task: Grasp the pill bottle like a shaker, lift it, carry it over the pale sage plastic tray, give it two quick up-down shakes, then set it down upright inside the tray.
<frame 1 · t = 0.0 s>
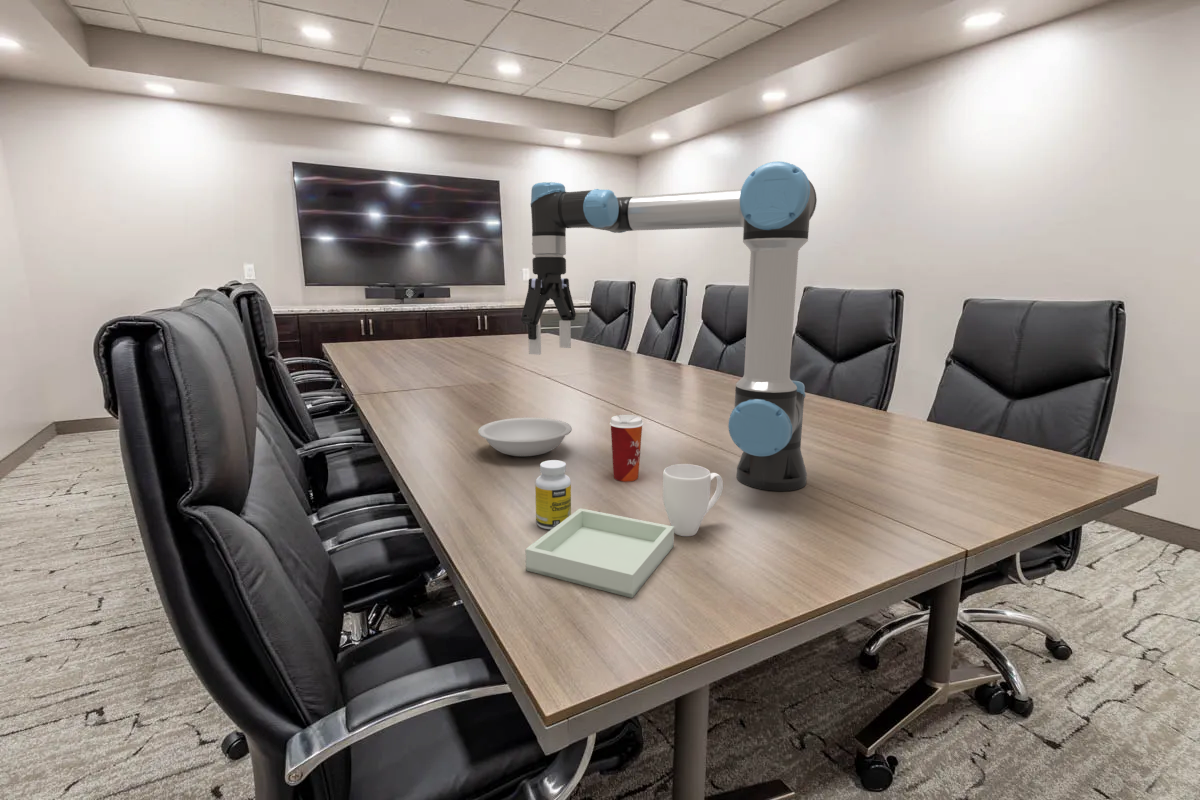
hand: (550, 350, 133), 28 cm above the table, fingers open, 13 cm apart
mug: (693, 530, 104), on the table
pill bottle: (553, 524, 107), on the table
tray: (602, 557, 94), on the table
soup bowl: (526, 453, 150), on the table
paper cup: (625, 478, 131), on the table
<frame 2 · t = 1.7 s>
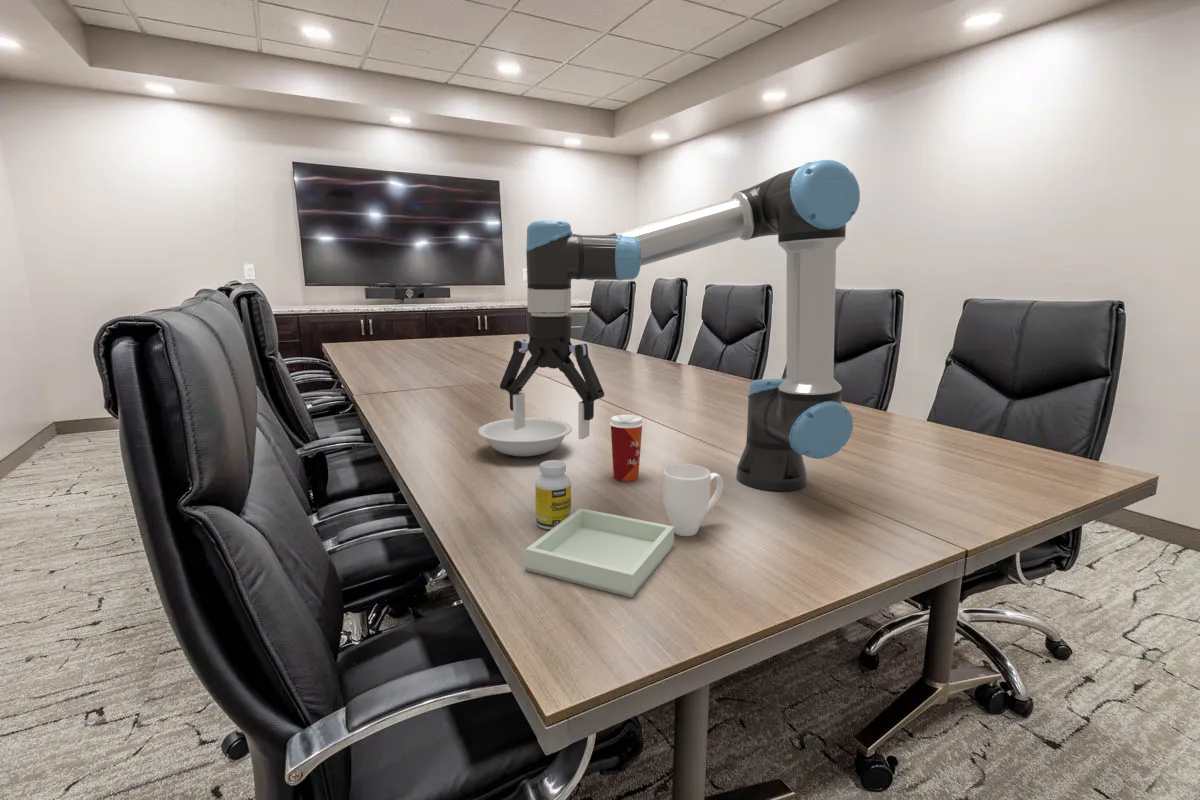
hand: (550, 432, 104), 17 cm above the table, fingers open, 13 cm apart
nothing on the table moved.
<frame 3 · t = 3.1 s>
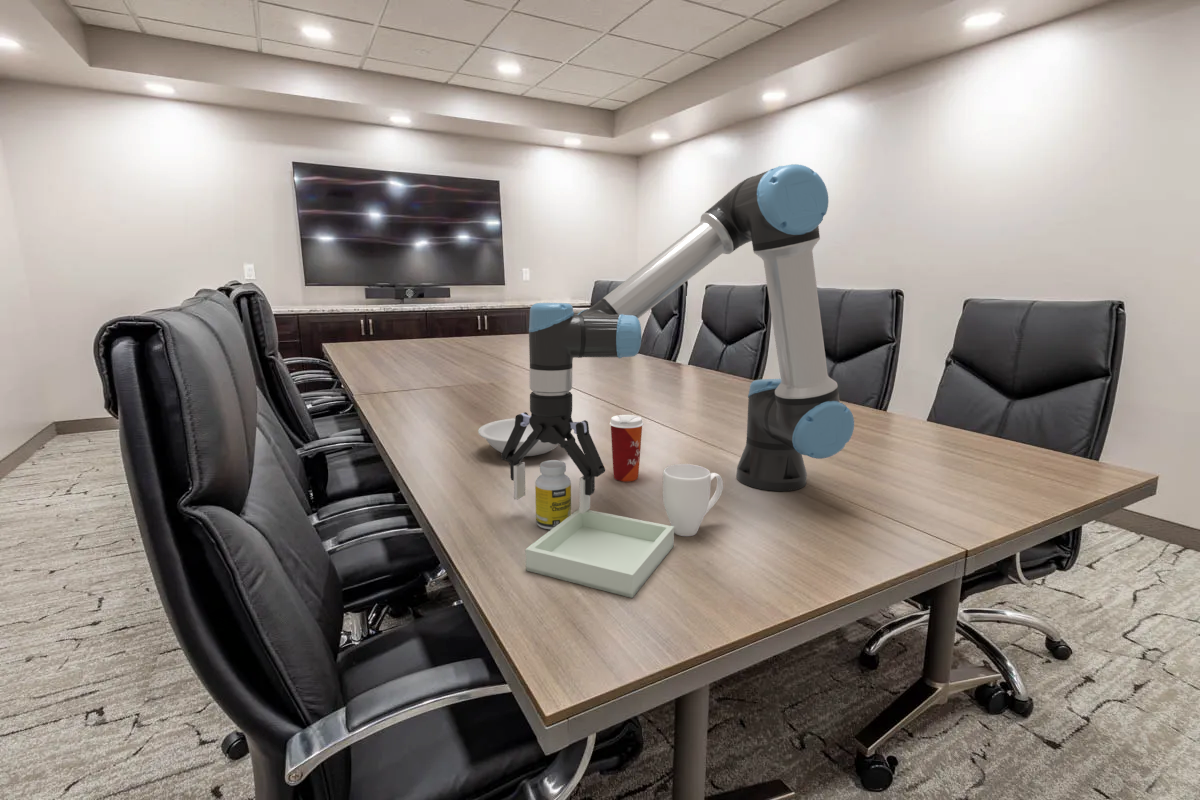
hand: (551, 504, 106), 4 cm above the table, fingers open, 13 cm apart
nothing on the table moved.
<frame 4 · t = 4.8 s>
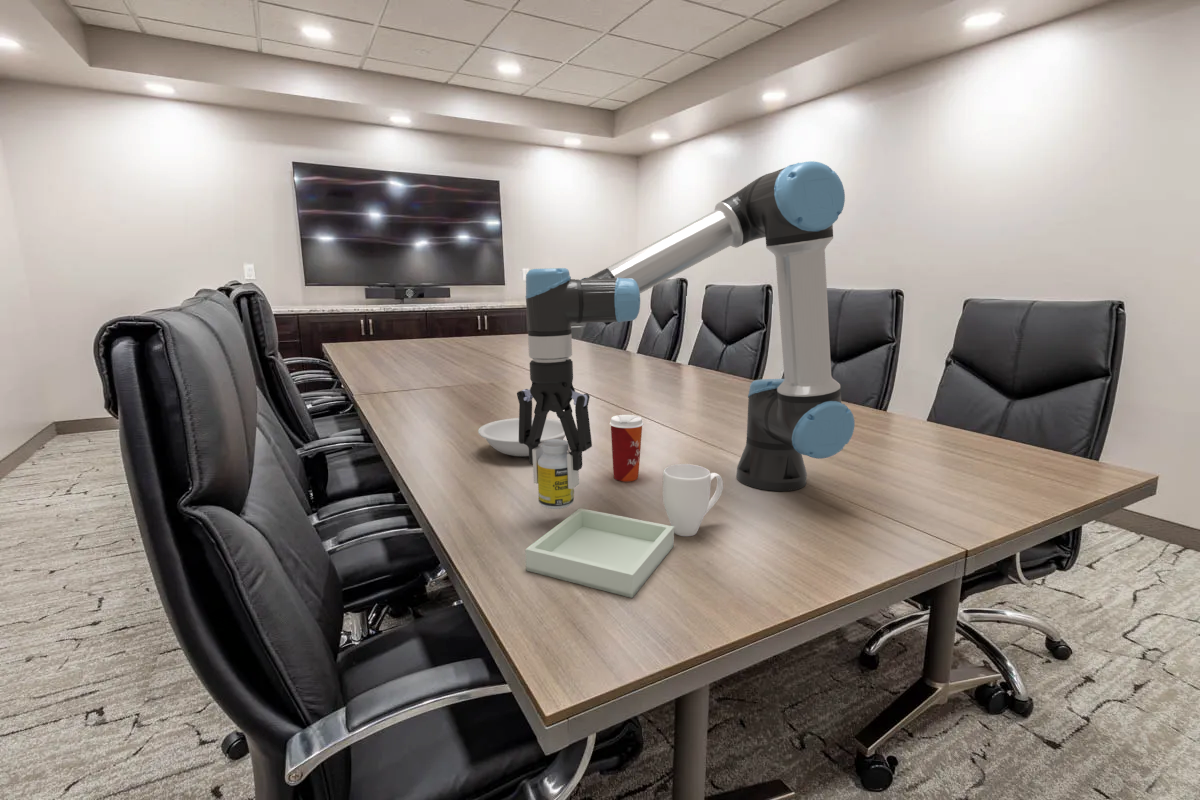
hand: (556, 483, 105), 8 cm above the table, fingers closed on pill bottle, 6 cm apart
pill bottle: (556, 504, 106), point 4 cm above the table, touching gripper
everything else where it was.
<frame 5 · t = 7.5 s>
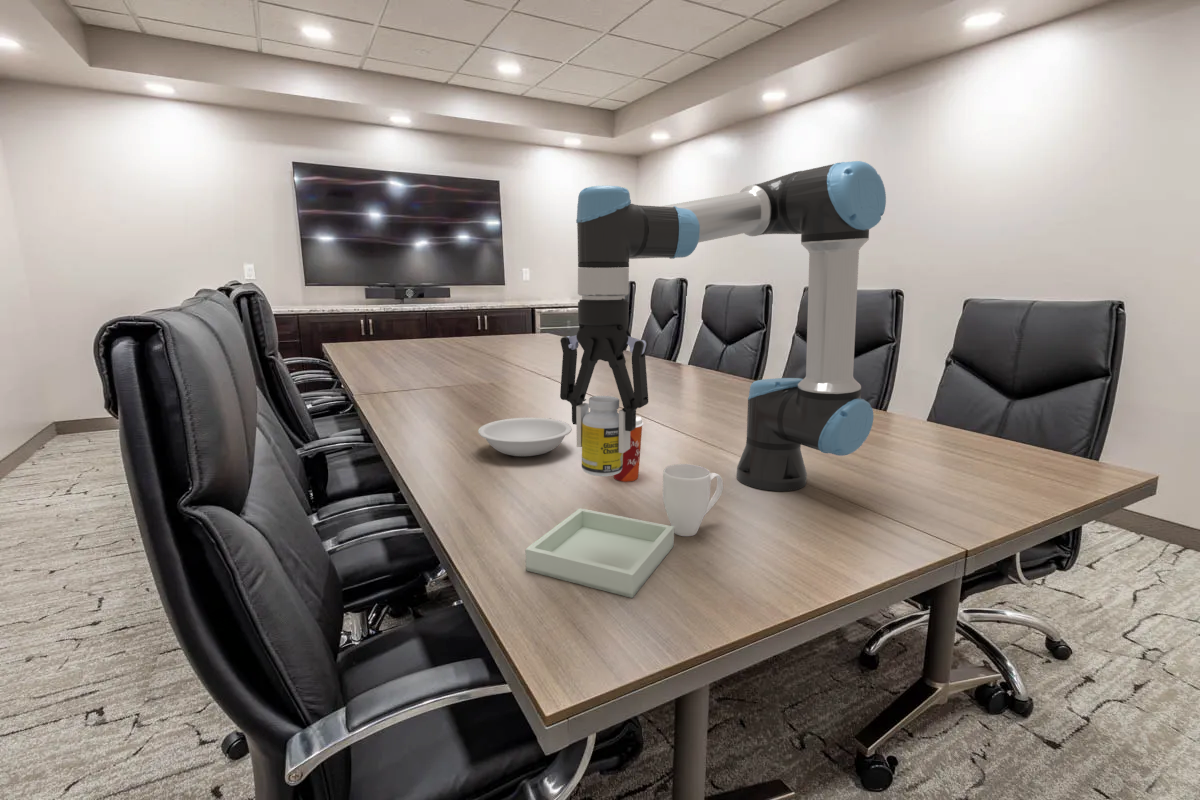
hand: (603, 447, 90), 19 cm above the table, fingers closed on pill bottle, 6 cm apart
pill bottle: (602, 471, 91), point 15 cm above the table, touching gripper
everything else where it was.
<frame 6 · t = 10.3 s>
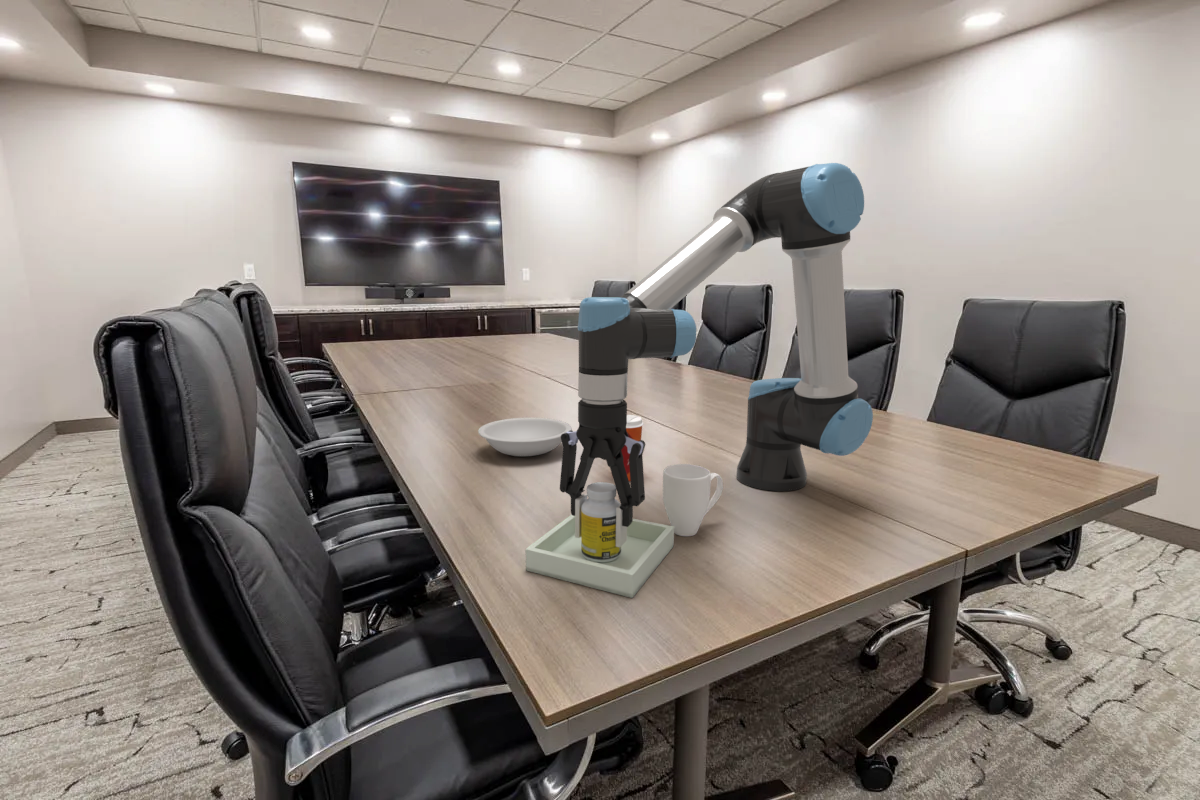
hand: (600, 538, 93), 3 cm above the table, fingers closed on pill bottle, 6 cm apart
pill bottle: (601, 555, 94), resting on tray, touching gripper
everything else where it was.
when the fingers open (3 cm above the table, at t = 10.9 s): pill bottle stays where it is, resting on tray.
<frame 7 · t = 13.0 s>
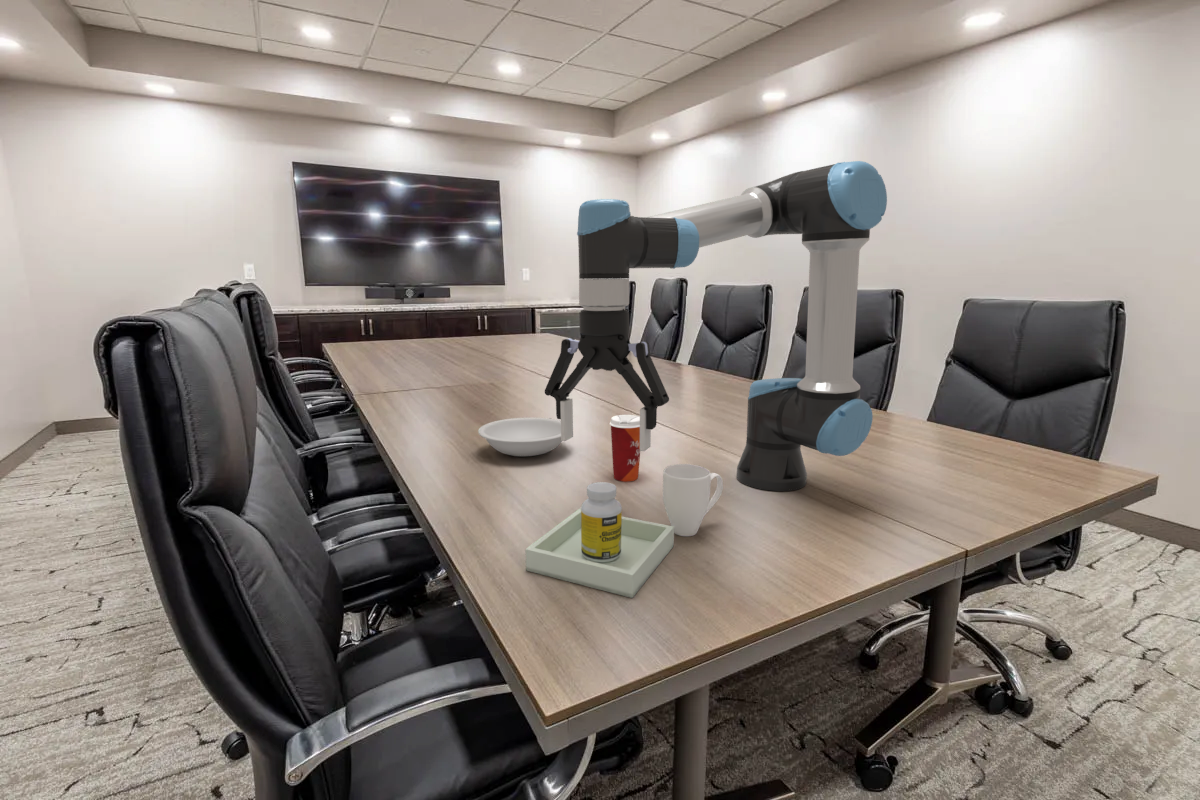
hand: (604, 443, 91), 19 cm above the table, fingers open, 13 cm apart
pill bottle: (601, 555, 94), resting on tray
everything else where it was.
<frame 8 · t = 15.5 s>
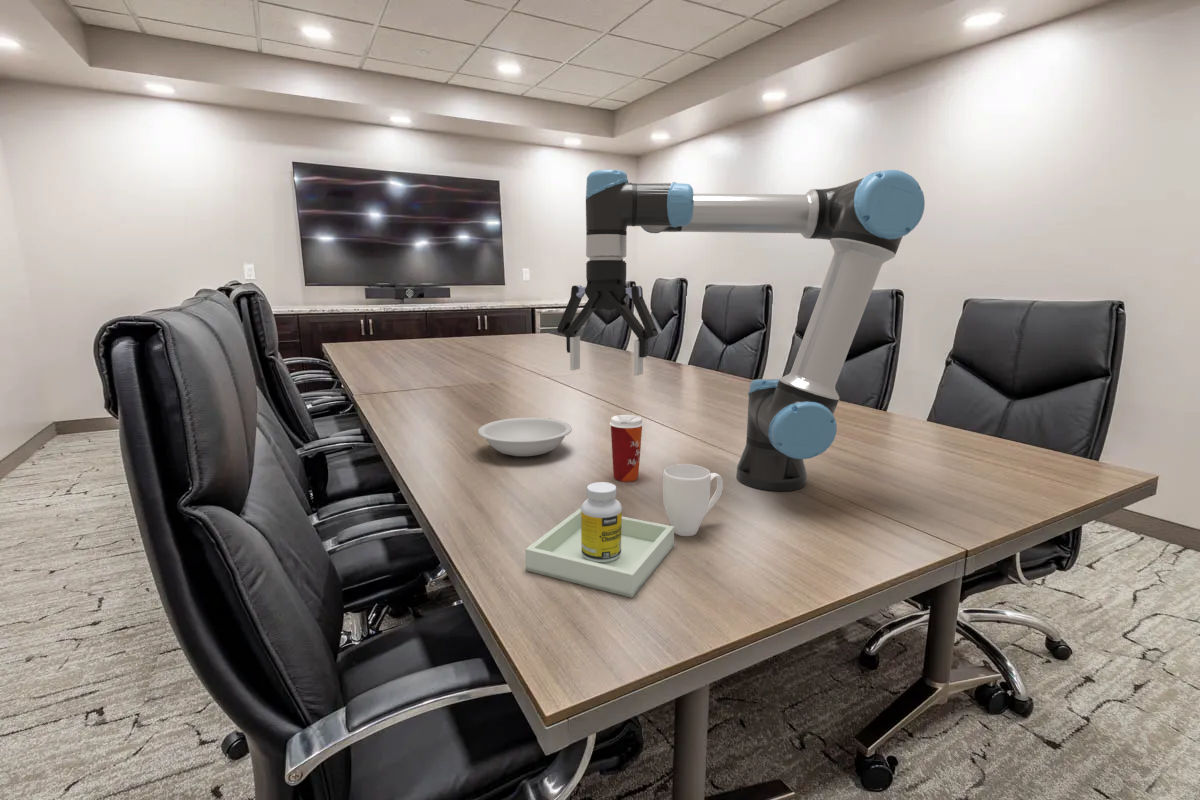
hand: (606, 372, 112), 27 cm above the table, fingers open, 13 cm apart
nothing on the table moved.
at the end: pill bottle inside the target area on the tray (0.3 cm from its centre), point 0.4 cm above the tray's base; pill bottle tilted 0°; the gripper is holding nothing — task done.
